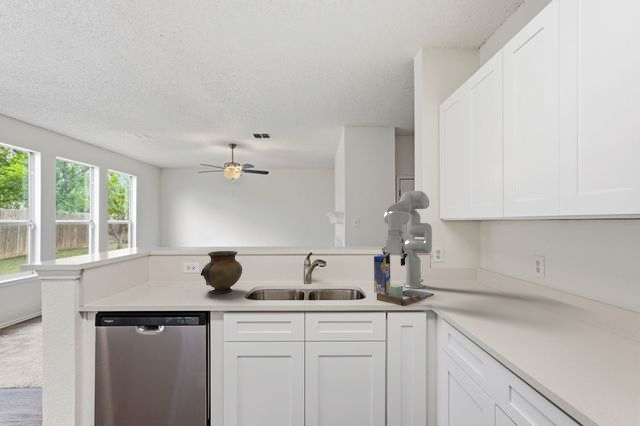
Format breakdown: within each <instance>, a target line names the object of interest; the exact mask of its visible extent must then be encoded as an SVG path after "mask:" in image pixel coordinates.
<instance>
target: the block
mask: <svg viewBox="0 0 640 426" xmlns="http://www.w3.org/2000/svg"><path fill="white" fill-rule="evenodd" d="M403 287H404V285H399V284H390V286H389V291H388V292H389V296H394V297H399V298H403V299H404V295H403V291H404V290H403Z"/></svg>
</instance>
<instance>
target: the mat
mask: <svg viewBox="0 0 640 426" xmlns="http://www.w3.org/2000/svg"><path fill="white" fill-rule="evenodd" d="M419 294H420V295H421V299H420V300H423V299H425V298H428V297H432V296H434V295H435V294H434V293H432V292H427V291H421V290H415V289H412V288H408V289H405V290H403V297H404V296H405V297H408V298H409V297H413V296H416V295H419Z"/></svg>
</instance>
